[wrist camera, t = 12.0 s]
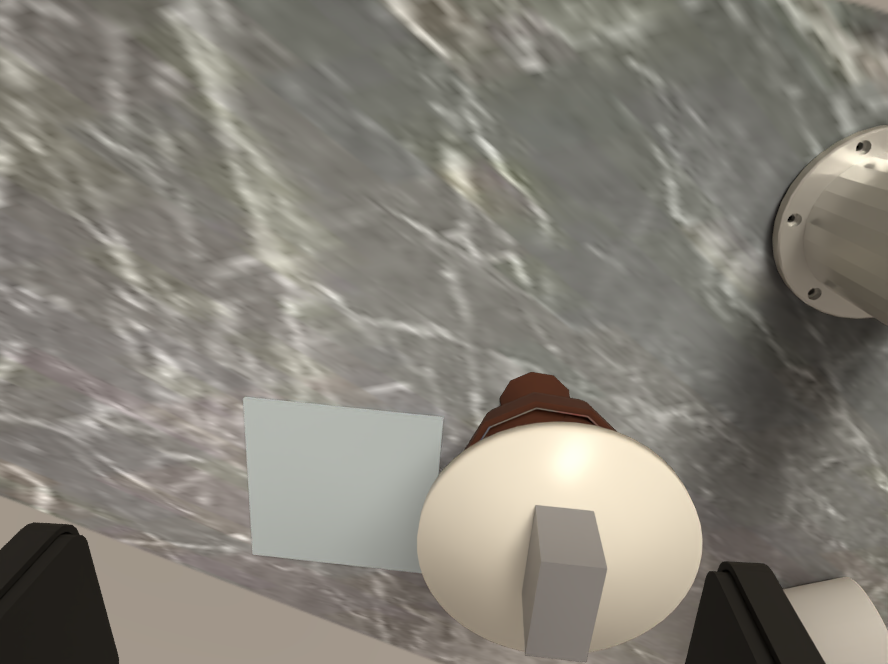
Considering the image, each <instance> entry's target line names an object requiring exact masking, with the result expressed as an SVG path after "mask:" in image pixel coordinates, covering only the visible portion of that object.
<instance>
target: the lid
mask: <svg viewBox="0 0 888 664" xmlns="http://www.w3.org/2000/svg"><path fill="white" fill-rule="evenodd" d="M417 554H418V560H419V565H420V569H421V572H422V574H423V577H424V580H425V582H426V584H427V586H428V588H429V589H430V591H431V593H432V594H433V596H434V597H435V599H436V600H437V601H438V603H439V604H440V605H441V606H442V607H443V608H444V609H445V611H446V612H447V613H448V614H449V615H450V616H451V617H453V618H454V619H455V620H456V621H458V622H459V623H460V624H461V625H463V626H464V627H466V628H467V629H469V630H470V631H472V632H474V633H475V634H477V635H479V636H481V637H483V638H485V639H487V640H489V641H491V642H494V643H497V644H499V645H502V646H505V647H508V648H512V649H516V650H520V651H525V656H534V657H542V658H551V659H560V660H568V661H577V662H587V657H588V653H589V652H594V651H598V650H603V649H607V648H610V647H613V646H616V645H619V644H622V643H625V642H627V641H629V640H631V639H634V638H636V637H638V636H640V635H641V634H643V633H645V632H647V631H648V630H650V629H652V628H653V627H654V626H656V625H657V624H658V623H660V622H661V621H662V620H664V619H665V618H666V617H667V616H668V615H669V614H670V613H671V612H672V611H673V610H674V609H675V608H676V607H677V606H678V605H679V604H680V602H681V601H682V600H683V598H684V597H685V596H686V594H687V593H688V591H689V589H690V587H691V586H692V584H693V582H694V580H695V577H696V574H697V572H698V569H699V565H700V561H701V556H702V532H701V524H700V521H699V518H698V515H697V512H696V509H695V507H694V504H693V502H692V500H691V498H690V496H689V494H688V492H687V490H686V488H685V486H684V484H683V482H682V481H681V480H680V478H679V477H678V476H677V474H676V473H675V471H674V470H673V469H672V468H671V467H670V466H669V465H668V464H667V463H666V462H665V461H664V460H663V459H662V458H661V457H660V456H658V455H657V454H656V453H655V452H653V451H652V450H651V449H649V448H648V447H646V446H645V445H643V444H641V443H639V442H638V441H636V440H634V439H632V438H630V437H628V436H626V435H623V434H621V433H618V432H616V431H613V430H610V429H606V428H602V427H599V426H595V425H589V424H583V423H576V422H543V423H533V424H528V425H523V426H517V427H514V428H511V429H507V430H504V431H501V432H498V433H496V434H493V435H491V436H489V437H487V438H484V439H482V440H480V441H479V442H477V443H475V444H474V445H472V446H470V447H469V448H467V449H466V450H464V451H463V452H462V453H461V454H459V455H458V456H457V457H456V458H454V459H453V460H452V461H451V462H450V463H449V464H448V465H447V466H446V467H445V468H444V469H443V470H442V472H441V473H440V474H439V476H438V477H437V479H436V480H435V481H434V483H433V484H432V486H431V488H430V490H429V492H428V494H427V496H426V498H425V501H424V504H423V507H422V510H421V515H420V521H419V528H418V534H417Z"/></svg>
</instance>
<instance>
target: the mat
mask: <svg viewBox="0 0 888 664" xmlns="http://www.w3.org/2000/svg"><path fill="white" fill-rule="evenodd" d="M243 406H244V422H245V439H246V455H247V471H248V487H249V503H250V519H251V536H252V552H253V555H261V556H270V557H279V558H288V559H297V560H306V561H315V562H324V563H333V564H342V565H351V566H360V567H369V568H378V569H387V570H396V571H405V572H414V573H422V572H421V569H420V565H419V560H418V554H417V534H418V528H419V521H420V515H421V510H422V507H423V504H424V501H425V498H426V496H427V494H428V492H429V490H430V488H431V486H432V484H433V483H434V481H435V480H436V479H437V477H438V475H439V463H440V452H441V440H442V429H443V418H444V417H439V416H429V415H419V414H409V413H400V412H390V411H380V410H370V409H361V408H351V407H341V406H331V405H322V404H312V403H302V402H292V401H283V400H273V399H263V398H253V397H244V398H243Z"/></svg>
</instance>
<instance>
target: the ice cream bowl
mask: <svg viewBox="0 0 888 664" xmlns="http://www.w3.org/2000/svg"><path fill="white" fill-rule="evenodd" d="M500 403H501V406H499V407H497V408H494V409H492V410H491V411H490V412H488V413H487V414H486V416H485V417H484V419H483V421H482V422H481V424H480V426H479V427H478V429H477V431H476V432H475V434H474V435H473V437H472V439H471V440H470V442H469V444H468V445H467V447H466V448H465V450H466V449H467V448H469V447H470V446H472V445H474V444H475V443H477V442H479V441H480V440H482V439H484V438H487V437H489V436H491V435H493V434H496V433H498V432H501V431H504V430H507V429H511V428H514V427H517V426H523V425H528V424H533V423H543V422H576V423H583V424H589V425H595V426H599V427H602V428H606V429H610V430H613V431H616V430H615V429H614V428H613V427H612V426H611V425H610V424H609V423H608V422H607V421H606V420H605V419H603V418H602V417H601V416H600V415H599V414H598V413H597V412H596V411H595V410H594V409H593V408H592V407H591V406H590V405H589V404H588V403H587V402H585V401H582V400H580V399H574V398H570V397H569V390H568V389H567V388H566V387H565V386H564V385H563V384H562V383H561V382H560V381H559V380H558V379H557V378H556V377H555V376H553V375H547V374H541V373H534V372H530V373H528V374H525V375H523V376H520V377H518V378H516V379H513V380H511V381H510V382H509V384H508V386H507V387H506V389H505V390H504V392H503V394H502V395H501V397H500ZM616 432H617V431H616Z"/></svg>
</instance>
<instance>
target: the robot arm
mask: <svg viewBox="0 0 888 664" xmlns="http://www.w3.org/2000/svg"><path fill="white" fill-rule="evenodd" d="M858 143H859V147H858V149H856V146H857V145H858ZM791 215H792V218H791V220H789V221H788V218H789V216H791ZM772 242H773V256H774V259H775V263H776V266H777V270H778V272H779V274H780V276H781V277H782V279H783V281H784V283H785V284H786V286H787V287H788V288H789V289H790V290H791V291H792V292H793V293H794V294H795V295H796V296H797V297H798V298H800V299H801V300H802V301H804V302H805V303H806V304H808V305H810V306H811V307H813V308H815V309H817V310H819V311H821V312H823V313H827V314H830V315H833V316H837V317H843V318H854V319H860V318H873V317H874V318H876V319H877V320H879V321H880V322H882V323H883V324H885V325H887V326H888V125H882V126H877V127H873V128H870V129H866V130H863V131H859V132H857V133H854V134H852V135H850V136H848V137H846V138H844V139H842V140H840V141H838V142H836V143H835V144H833V145H832V146H830V147H829V148H827V149H826V150H824V151H823V152H822V153H820V154H819V155H818V156H817V157H816V158H815V159H814V160H812V161H811V162H810V163H809V164H808V165H807V166H806V167H805V168H804V169H803V170H802V171H801V173H800V174H799V175H798V177H797V178H796V179H795V180H794V182H793V183H792V184H791V186H790V187H789V189H788V191H787V193H786V195H785V196H784V198H783V200H782V202H781V204H780V207H779V210H778V213H777V216H776V219H775V223H774V230H773V237H772ZM811 289H812V290H811ZM810 290H811V291H810ZM809 291H810V292H809ZM0 664H119V657H118V653H117V649H116V645H115V642H114V638H113V635H112V631H111V627H110V624H109V620H108V617H107V612H106V609H105V605H104V601H103V597H102V594H101V590H100V586H99V583H98V579H97V575H96V572H95V568H94V565H93V560H92V557H91V553H90V549H89V546H88V542H87V540H86V538H85V537H84V536H83V535H79V533H78V530H77V529H76V528H75V527H74V526H73V525H67V524H51V523H31V524H28V525H26V526H25V527H24V528H22V529H21V530H20V531H19V532H18V533H17V534H16V535H15V536H14V537H13V538H12V539H11V540H10V541H9V542H8V543H7V544H6V545H5V546H4V547H3V548H2V549H1V550H0ZM685 664H826V663H825V661H824V660H823V658H822V656H821V655H820V653H819V651H818V649H817V648H816V646H815V644H814V642H813V641H812V639H811V637H810V636H809V634H808V632H807V630H806V629H805V627H804V625H803V623H802V622H801V620H800V618H799V617H798V615H797V613H796V611H795V610H794V608H793V606H792V605H791V603H790V601H789V599H788V598H787V596H786V594H785V592H784V591H783V589H782V587H781V586H780V584H779V582H778V580H777V579H776V577H775V575H774V573H773V572H772V571H771V569H770V568H769V567H768V566H767V565H765V564H761V563H743V562H722V563H721V564H720V566H719V568H718V571H717V572H716V571H709V573H708V574H707V576H706V579H705V583H704V588H703V592H702V596H701V600H700V604H699V608H698V612H697V616H696V621H695V625H694V629H693V633H692V637H691V641H690V645H689V649H688V654H687V658H686V662H685Z"/></svg>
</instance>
